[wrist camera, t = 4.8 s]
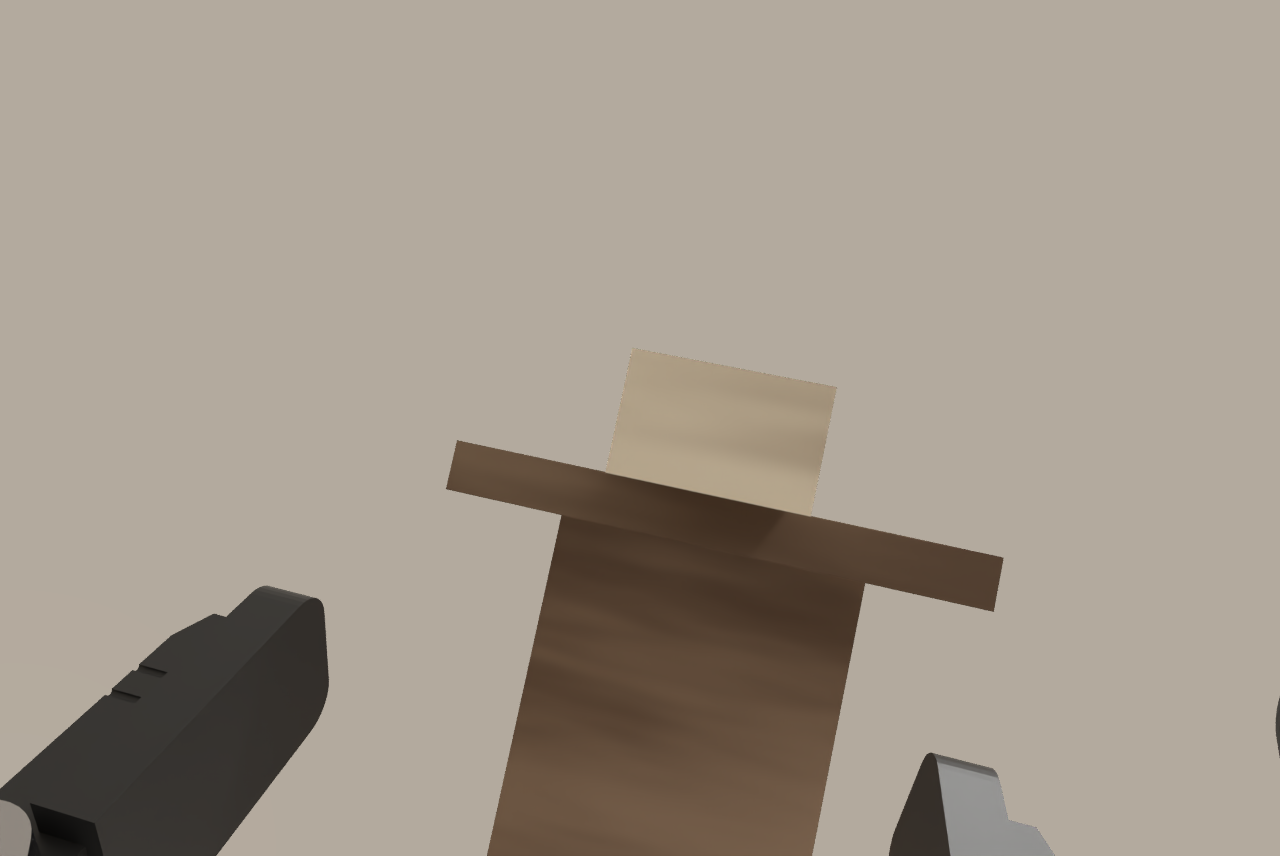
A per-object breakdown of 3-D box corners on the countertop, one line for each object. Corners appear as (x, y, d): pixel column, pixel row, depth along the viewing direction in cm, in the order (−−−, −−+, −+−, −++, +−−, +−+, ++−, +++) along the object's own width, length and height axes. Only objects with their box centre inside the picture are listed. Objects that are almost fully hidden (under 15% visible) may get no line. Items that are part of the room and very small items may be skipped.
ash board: (680, 488, 36) (691, 432, 36) (771, 507, 35) (782, 450, 35) (605, 472, 16) (632, 348, 16) (810, 516, 15) (836, 386, 15)
